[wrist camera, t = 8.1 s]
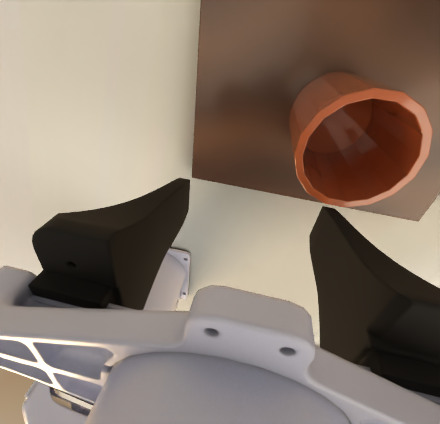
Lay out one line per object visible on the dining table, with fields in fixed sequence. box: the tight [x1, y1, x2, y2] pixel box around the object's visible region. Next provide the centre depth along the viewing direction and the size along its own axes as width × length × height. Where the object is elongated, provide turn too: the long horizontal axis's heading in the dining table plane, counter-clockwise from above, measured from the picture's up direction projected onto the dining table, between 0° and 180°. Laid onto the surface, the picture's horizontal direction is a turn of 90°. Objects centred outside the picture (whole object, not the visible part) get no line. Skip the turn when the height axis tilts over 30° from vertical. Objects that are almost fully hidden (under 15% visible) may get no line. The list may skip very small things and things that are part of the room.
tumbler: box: [289, 71, 433, 207], centre depth 15 cm, size 6×6×8 cm
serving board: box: [192, 0, 440, 221], centre depth 18 cm, size 14×20×2 cm
